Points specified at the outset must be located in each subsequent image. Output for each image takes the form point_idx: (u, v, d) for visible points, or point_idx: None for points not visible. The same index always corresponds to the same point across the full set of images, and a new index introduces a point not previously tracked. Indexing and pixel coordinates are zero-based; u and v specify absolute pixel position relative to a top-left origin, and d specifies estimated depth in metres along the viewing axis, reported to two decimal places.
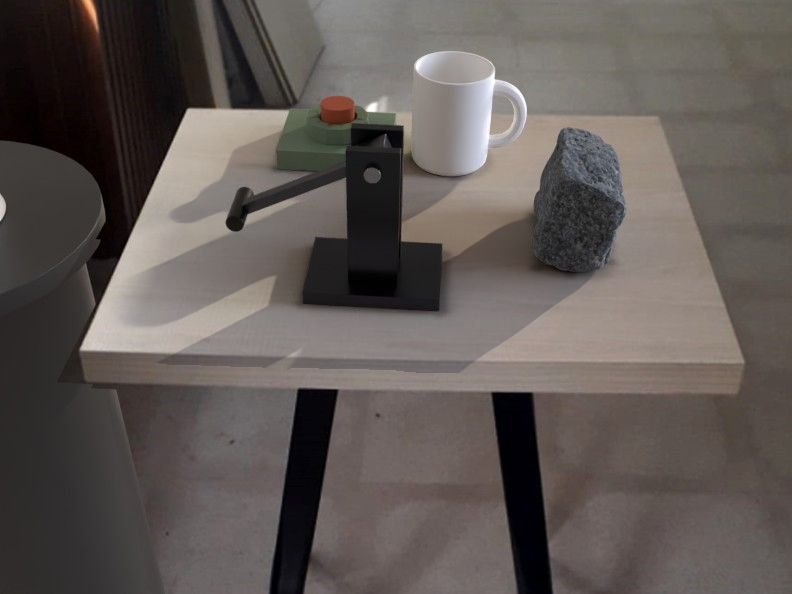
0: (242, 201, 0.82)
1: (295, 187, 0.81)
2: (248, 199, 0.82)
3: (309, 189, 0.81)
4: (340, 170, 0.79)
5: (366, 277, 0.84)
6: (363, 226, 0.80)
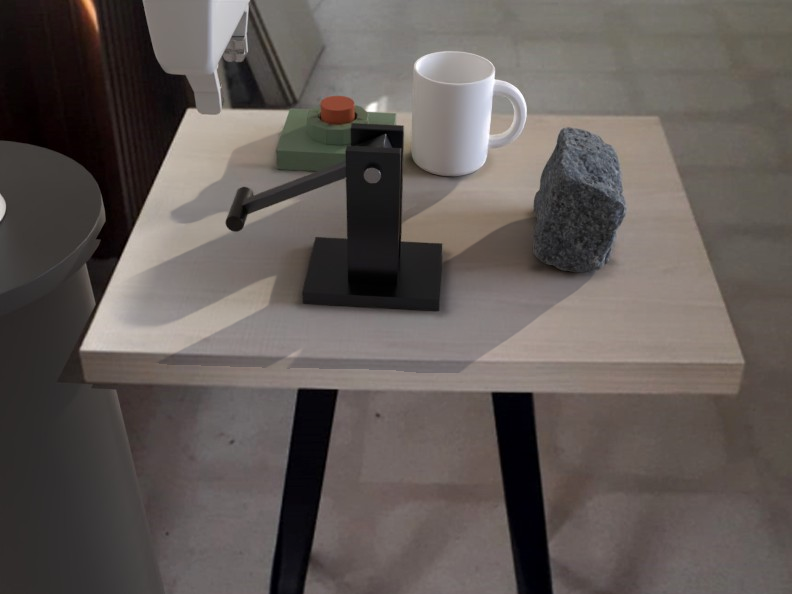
0: (242, 201, 0.82)
1: (295, 187, 0.81)
2: (248, 199, 0.82)
3: (309, 189, 0.81)
4: (340, 170, 0.79)
5: (366, 277, 0.84)
6: (363, 226, 0.80)
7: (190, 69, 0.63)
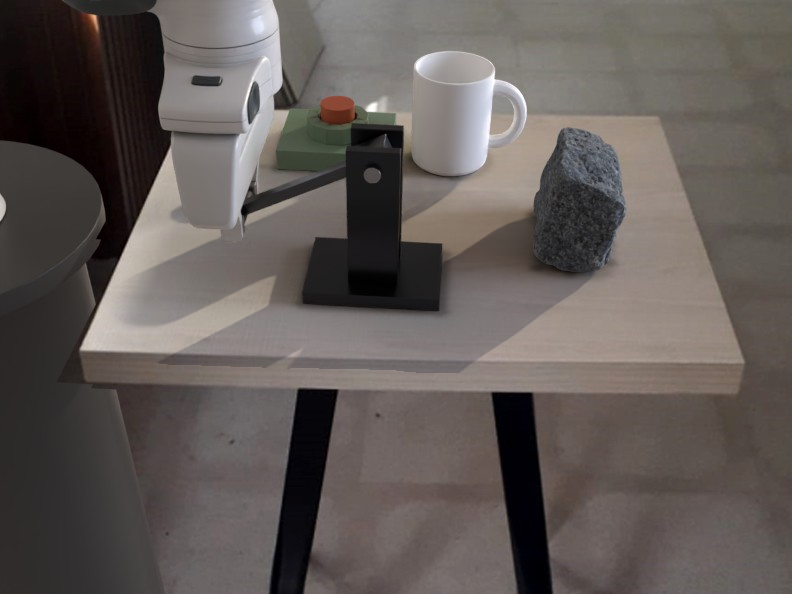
0: None
1: (295, 187, 0.81)
2: (248, 199, 0.82)
3: (309, 189, 0.81)
4: (340, 170, 0.79)
5: (366, 277, 0.84)
6: (363, 226, 0.80)
7: (214, 226, 0.73)
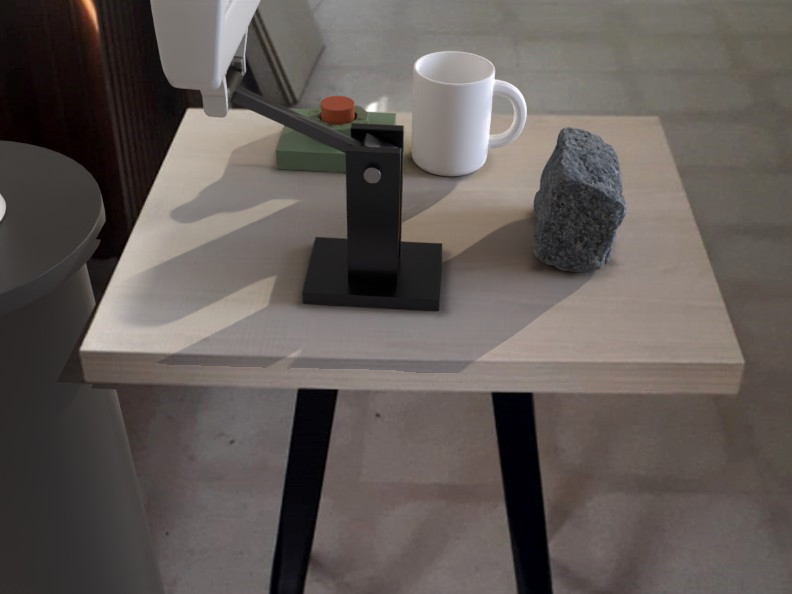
0: (235, 86, 0.75)
1: (293, 120, 0.77)
2: (241, 89, 0.76)
3: (302, 132, 0.77)
4: (342, 142, 0.78)
5: (366, 277, 0.84)
6: (363, 226, 0.80)
7: (196, 84, 0.65)
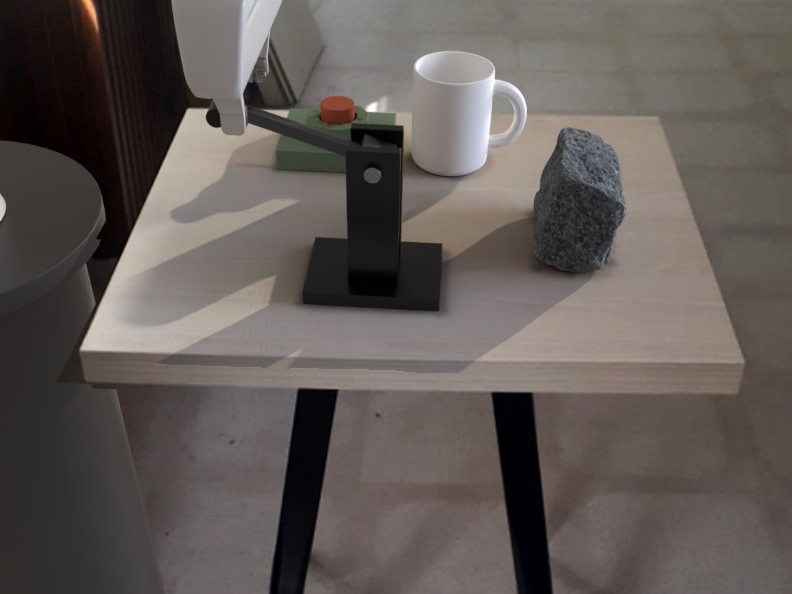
0: None
1: (290, 128, 0.77)
2: None
3: (300, 139, 0.78)
4: (340, 145, 0.78)
5: (366, 277, 0.84)
6: (363, 226, 0.80)
7: (219, 94, 0.66)
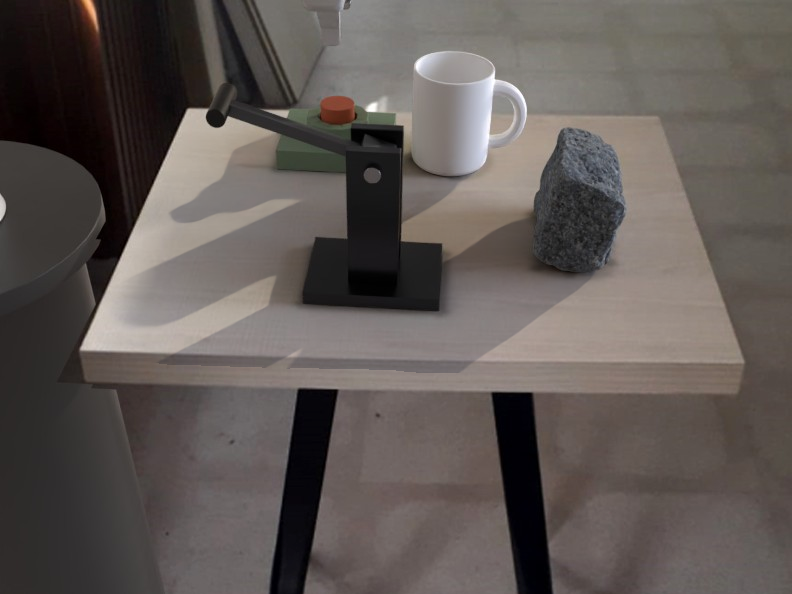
0: (230, 101, 0.76)
1: (290, 128, 0.77)
2: (236, 103, 0.77)
3: (300, 139, 0.78)
4: (340, 145, 0.78)
5: (366, 277, 0.84)
6: (363, 226, 0.80)
7: (326, 7, 0.84)
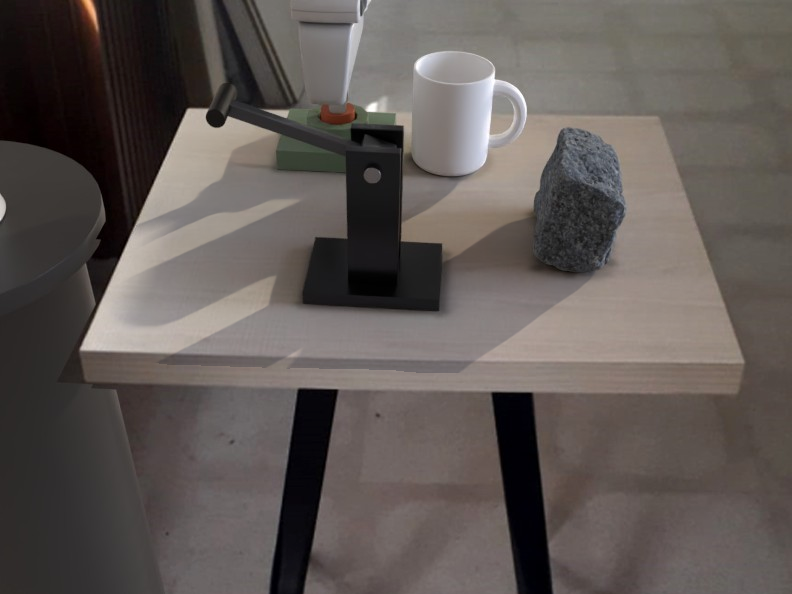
0: (230, 101, 0.76)
1: (290, 128, 0.77)
2: (236, 103, 0.77)
3: (300, 139, 0.78)
4: (340, 145, 0.78)
5: (366, 277, 0.84)
6: (363, 226, 0.80)
7: (329, 101, 0.91)
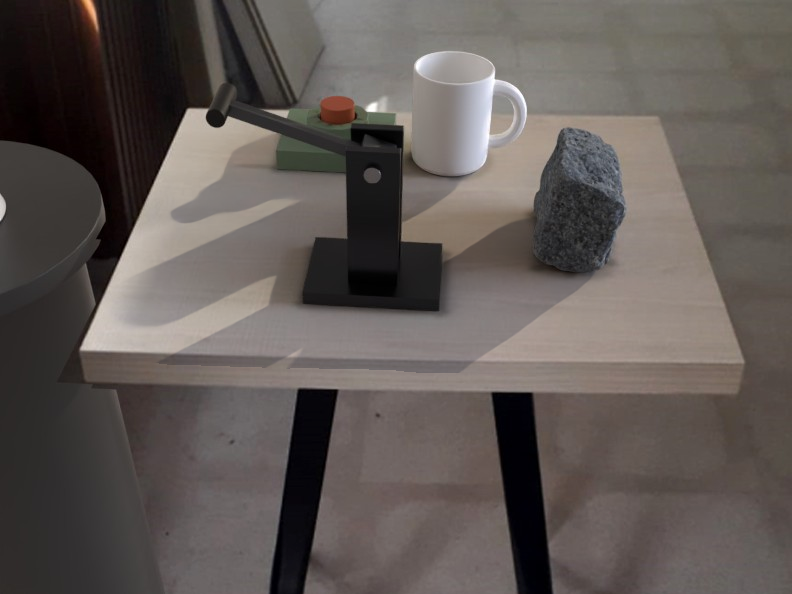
0: (230, 101, 0.76)
1: (290, 128, 0.77)
2: (236, 103, 0.77)
3: (300, 139, 0.78)
4: (340, 145, 0.78)
5: (366, 277, 0.84)
6: (363, 226, 0.80)
7: None
